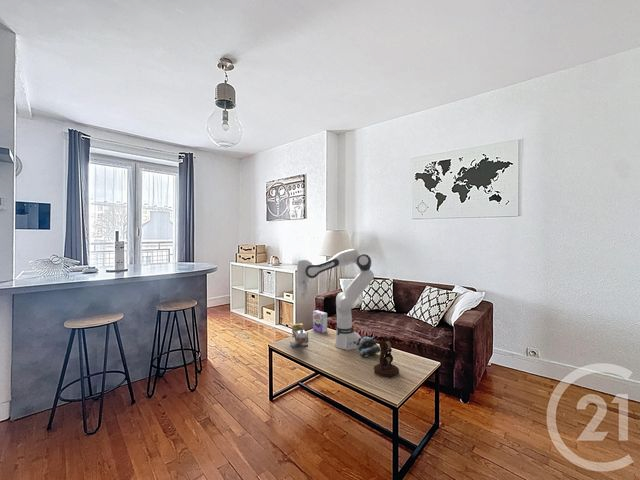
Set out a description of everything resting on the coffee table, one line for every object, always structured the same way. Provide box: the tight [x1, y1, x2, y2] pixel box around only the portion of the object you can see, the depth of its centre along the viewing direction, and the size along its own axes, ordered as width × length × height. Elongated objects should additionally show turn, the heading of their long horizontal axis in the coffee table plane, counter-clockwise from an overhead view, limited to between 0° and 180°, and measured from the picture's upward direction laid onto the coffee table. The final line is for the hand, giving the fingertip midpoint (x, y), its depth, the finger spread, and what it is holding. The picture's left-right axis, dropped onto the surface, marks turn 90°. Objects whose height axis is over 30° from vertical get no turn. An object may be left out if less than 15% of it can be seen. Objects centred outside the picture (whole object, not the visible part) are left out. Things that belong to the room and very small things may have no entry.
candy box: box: [312, 309, 328, 334], centre depth 258 cm, size 14×6×16 cm, turn 37°
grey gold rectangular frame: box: [289, 322, 310, 349], centre depth 221 cm, size 12×25×14 cm, turn 13°
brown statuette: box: [373, 337, 400, 379], centre depth 179 cm, size 15×15×20 cm
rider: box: [298, 330, 307, 339], centre depth 213 cm, size 5×5×5 cm
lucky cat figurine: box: [356, 334, 381, 359], centre depth 207 cm, size 15×12×14 cm
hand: (303, 297), depth 234 cm, fingers closed
